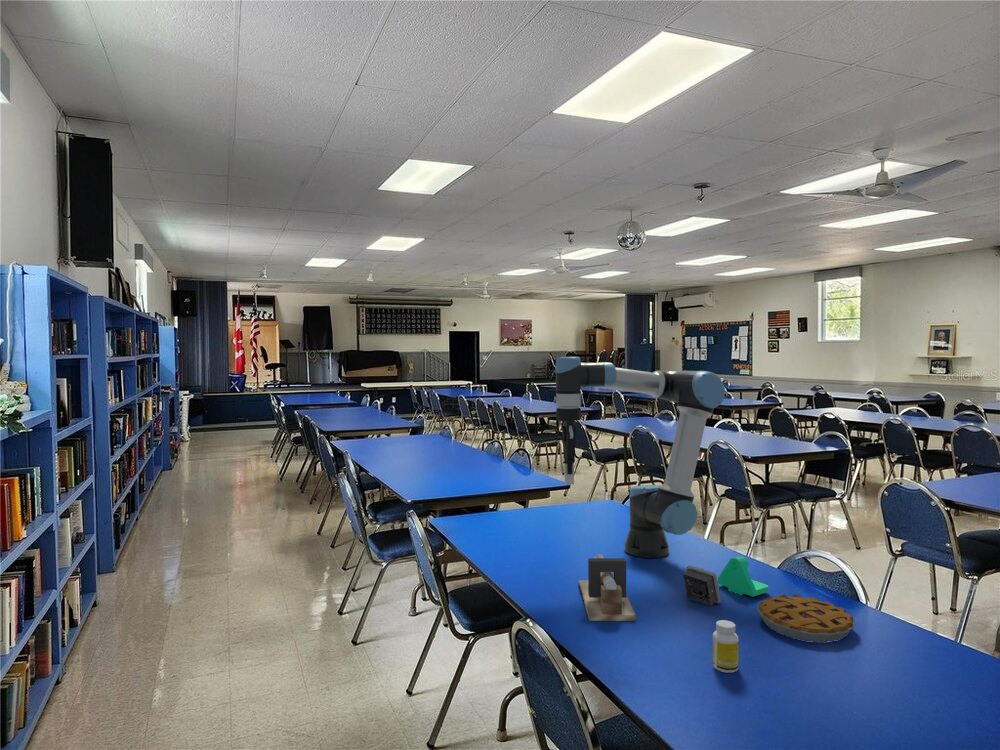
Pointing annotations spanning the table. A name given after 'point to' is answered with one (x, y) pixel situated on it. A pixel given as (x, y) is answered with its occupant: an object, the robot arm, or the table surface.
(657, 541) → the robot arm
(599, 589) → the collar
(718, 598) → the electrical switch
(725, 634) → the supplement bottle
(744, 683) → the table surface
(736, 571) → the camera mount
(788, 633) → the pie
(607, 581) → the pipe
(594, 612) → the pipe stand
